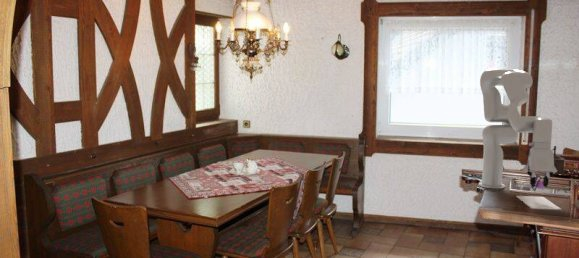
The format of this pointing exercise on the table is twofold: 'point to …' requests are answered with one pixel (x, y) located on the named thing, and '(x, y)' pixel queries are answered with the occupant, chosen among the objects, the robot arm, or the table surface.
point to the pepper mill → (558, 163)
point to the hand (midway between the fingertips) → (539, 185)
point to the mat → (538, 203)
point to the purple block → (538, 183)
